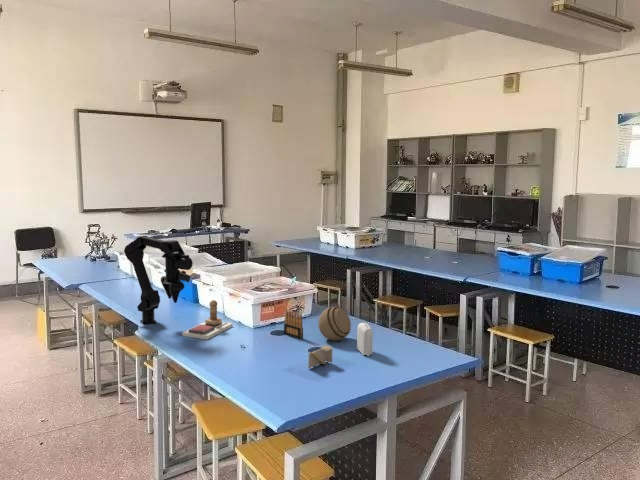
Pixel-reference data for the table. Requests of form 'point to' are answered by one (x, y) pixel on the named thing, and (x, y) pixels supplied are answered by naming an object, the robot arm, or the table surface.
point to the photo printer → (364, 338)
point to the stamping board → (210, 334)
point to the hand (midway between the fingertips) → (172, 300)
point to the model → (320, 356)
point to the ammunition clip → (293, 324)
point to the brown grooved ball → (334, 323)
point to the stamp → (213, 315)
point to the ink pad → (201, 329)
